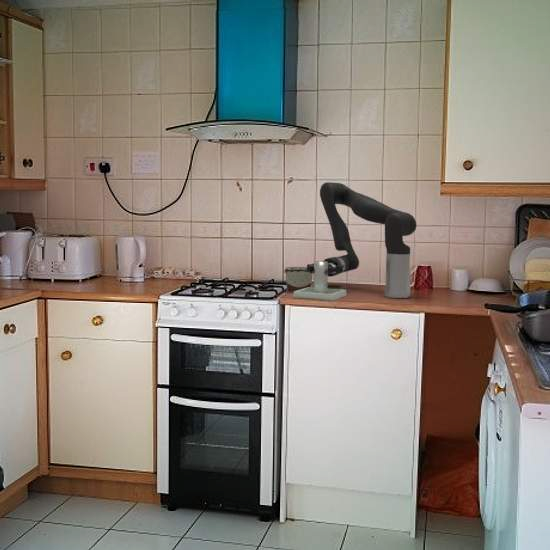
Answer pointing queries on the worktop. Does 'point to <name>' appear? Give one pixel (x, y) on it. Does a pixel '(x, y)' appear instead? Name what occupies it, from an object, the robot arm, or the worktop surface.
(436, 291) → the worktop surface
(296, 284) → the food container
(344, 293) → the tray
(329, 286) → the socket block
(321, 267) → the grey metallic cylinder
